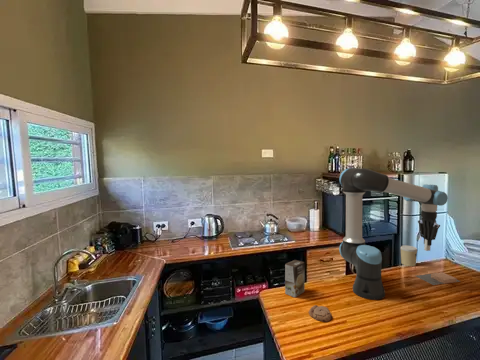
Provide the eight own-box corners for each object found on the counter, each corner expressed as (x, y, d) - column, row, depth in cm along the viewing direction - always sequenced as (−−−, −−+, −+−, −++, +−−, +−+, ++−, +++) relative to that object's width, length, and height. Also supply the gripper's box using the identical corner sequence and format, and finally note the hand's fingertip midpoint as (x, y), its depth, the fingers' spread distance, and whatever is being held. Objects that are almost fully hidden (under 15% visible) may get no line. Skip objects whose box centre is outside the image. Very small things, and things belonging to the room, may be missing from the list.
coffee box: (295, 298, 136) (294, 267, 135) (284, 293, 140) (284, 263, 139) (305, 291, 142) (304, 262, 141) (294, 287, 147) (294, 259, 146)
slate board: (433, 287, 144) (433, 284, 144) (414, 277, 156) (414, 275, 156) (460, 283, 147) (460, 281, 147) (440, 274, 159) (440, 272, 159)
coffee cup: (419, 268, 168) (420, 250, 167) (403, 268, 170) (403, 249, 169) (413, 263, 177) (413, 245, 176) (397, 262, 179) (398, 245, 178)
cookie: (319, 325, 114) (319, 318, 113) (304, 312, 123) (304, 306, 123) (337, 319, 118) (337, 312, 117) (321, 307, 127) (321, 301, 127)
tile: (431, 277, 153) (444, 283, 145) (431, 273, 153) (444, 279, 145) (442, 275, 155) (456, 282, 147) (442, 272, 154) (456, 278, 147)
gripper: (444, 212, 152) (442, 253, 153) (424, 208, 164) (423, 246, 166) (433, 213, 150) (431, 254, 152) (414, 209, 163) (412, 247, 164)
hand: (427, 250), depth 159 cm, fingers closed
